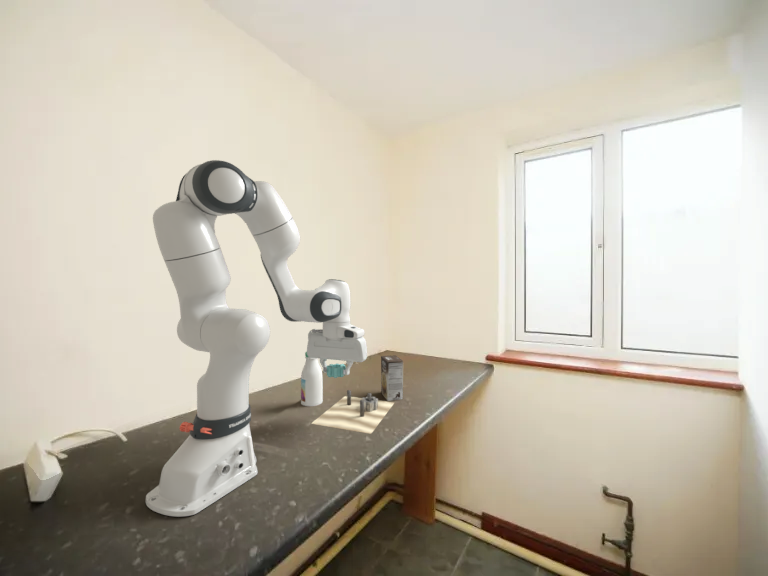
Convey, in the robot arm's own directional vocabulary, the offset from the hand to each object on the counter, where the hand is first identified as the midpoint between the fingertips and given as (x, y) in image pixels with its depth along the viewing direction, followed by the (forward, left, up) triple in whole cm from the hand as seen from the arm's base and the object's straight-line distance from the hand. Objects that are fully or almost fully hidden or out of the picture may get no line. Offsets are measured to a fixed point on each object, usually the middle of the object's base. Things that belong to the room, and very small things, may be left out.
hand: (336, 373), depth 96 cm
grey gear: (+11, -7, -15) cm, 20 cm away
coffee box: (+24, -11, -16) cm, 31 cm away
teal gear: (0, 0, -1) cm, 1 cm away
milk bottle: (+9, +15, -16) cm, 24 cm away
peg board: (+6, -4, -16) cm, 18 cm away
